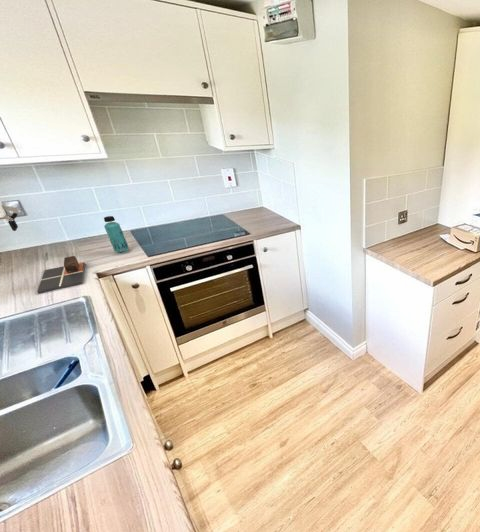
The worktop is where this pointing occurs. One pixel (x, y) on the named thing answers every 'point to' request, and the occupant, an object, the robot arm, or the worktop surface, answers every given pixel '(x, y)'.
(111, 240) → the beverage bottle
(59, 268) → the board
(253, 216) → the worktop surface
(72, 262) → the brick
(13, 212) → the robot arm
